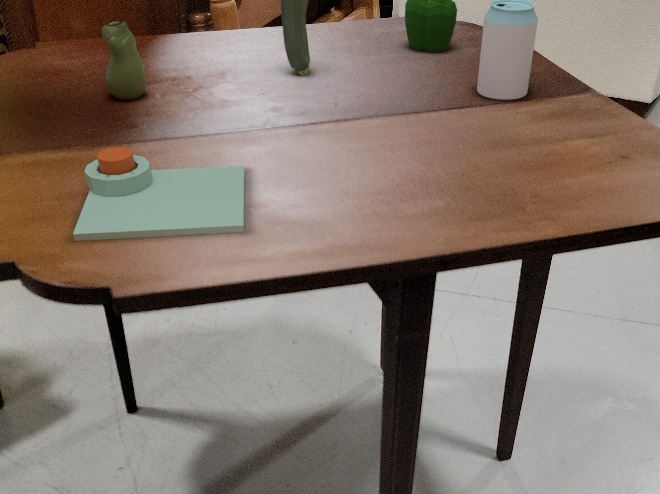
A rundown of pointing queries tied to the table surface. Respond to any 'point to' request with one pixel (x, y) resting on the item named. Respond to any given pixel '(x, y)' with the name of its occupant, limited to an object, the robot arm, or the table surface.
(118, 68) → the pear
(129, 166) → the button
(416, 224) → the table surface
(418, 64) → the table surface
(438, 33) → the bell pepper
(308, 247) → the table surface
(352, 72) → the table surface
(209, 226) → the pale green flat block
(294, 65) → the vegetable
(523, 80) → the can
